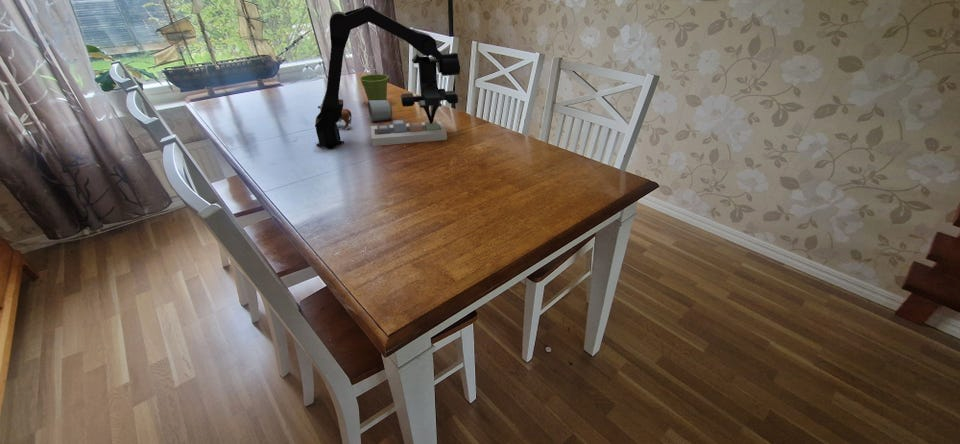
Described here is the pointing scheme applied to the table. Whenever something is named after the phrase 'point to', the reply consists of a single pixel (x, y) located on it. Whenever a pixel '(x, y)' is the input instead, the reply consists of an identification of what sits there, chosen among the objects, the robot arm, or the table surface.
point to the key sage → (431, 126)
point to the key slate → (399, 126)
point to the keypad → (408, 135)
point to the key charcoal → (383, 129)
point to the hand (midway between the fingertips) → (431, 123)
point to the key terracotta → (415, 127)
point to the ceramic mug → (379, 110)
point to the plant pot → (375, 86)
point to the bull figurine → (344, 117)
